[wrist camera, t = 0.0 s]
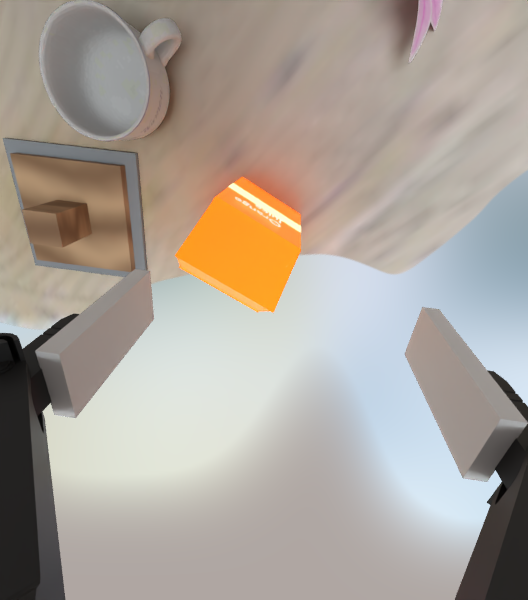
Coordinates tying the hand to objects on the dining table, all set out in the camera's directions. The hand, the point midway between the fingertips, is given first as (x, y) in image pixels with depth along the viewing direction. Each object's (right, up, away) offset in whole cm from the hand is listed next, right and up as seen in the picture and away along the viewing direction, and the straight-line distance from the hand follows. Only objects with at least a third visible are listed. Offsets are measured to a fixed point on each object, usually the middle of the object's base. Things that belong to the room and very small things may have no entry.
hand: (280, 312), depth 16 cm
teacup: (-14, +25, +20) cm, 35 cm away
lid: (-26, +12, +28) cm, 40 cm away
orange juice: (-2, +11, +26) cm, 29 cm away
